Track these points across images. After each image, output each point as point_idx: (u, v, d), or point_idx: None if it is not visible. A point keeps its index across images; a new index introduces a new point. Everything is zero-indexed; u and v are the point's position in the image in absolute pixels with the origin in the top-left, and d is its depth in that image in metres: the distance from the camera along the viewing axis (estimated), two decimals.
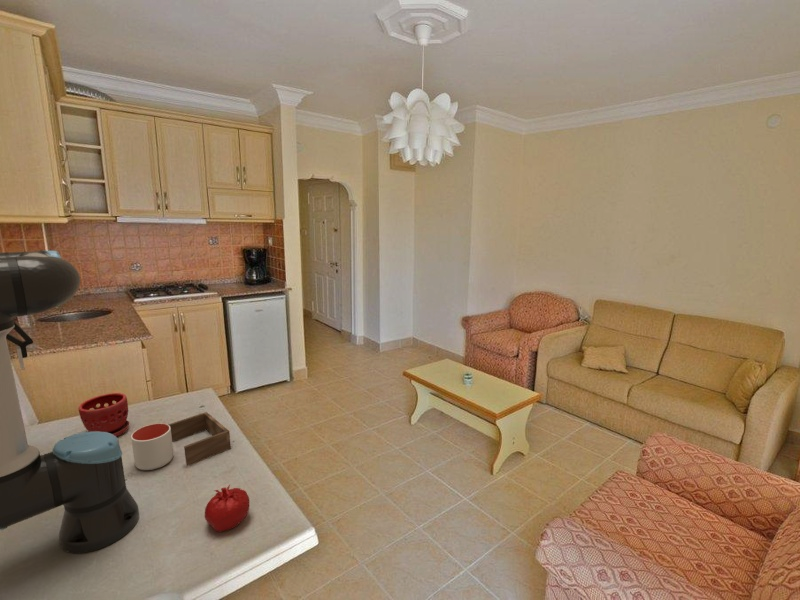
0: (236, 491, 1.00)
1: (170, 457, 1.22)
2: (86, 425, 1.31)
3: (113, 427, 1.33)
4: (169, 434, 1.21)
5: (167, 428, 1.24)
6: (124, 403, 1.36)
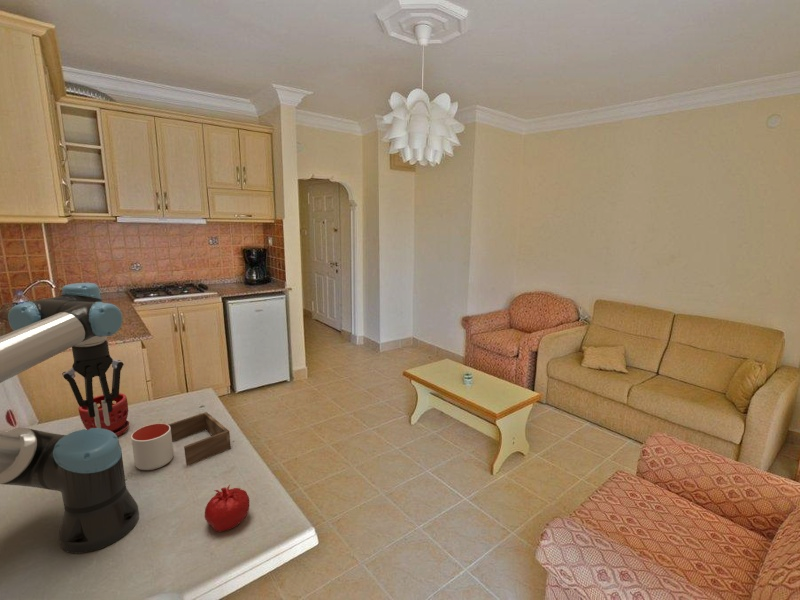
0: (236, 491, 1.00)
1: (170, 457, 1.22)
2: (86, 425, 1.31)
3: (113, 427, 1.33)
4: (169, 434, 1.21)
5: (167, 428, 1.24)
6: (124, 403, 1.36)
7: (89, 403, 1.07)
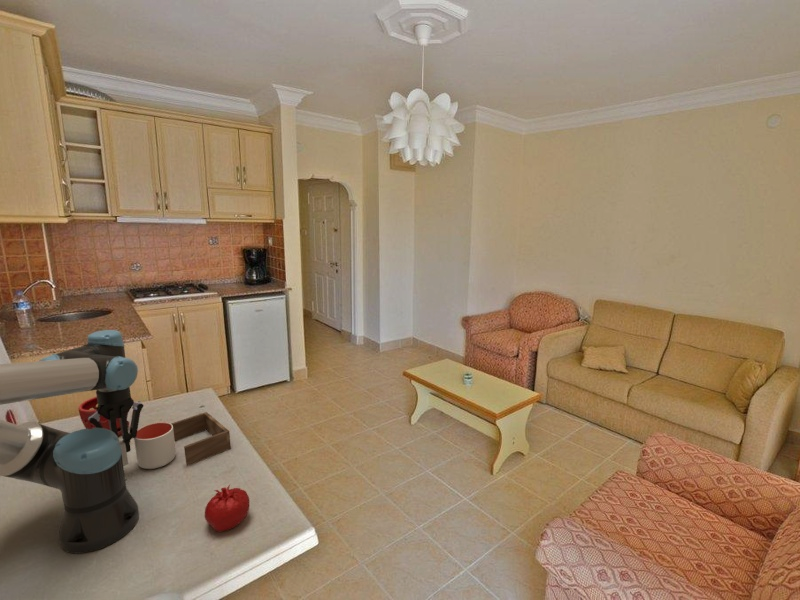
0: (236, 491, 1.00)
1: (172, 456, 1.22)
2: (86, 425, 1.31)
3: None
4: (171, 433, 1.21)
5: (170, 427, 1.25)
6: None
7: None
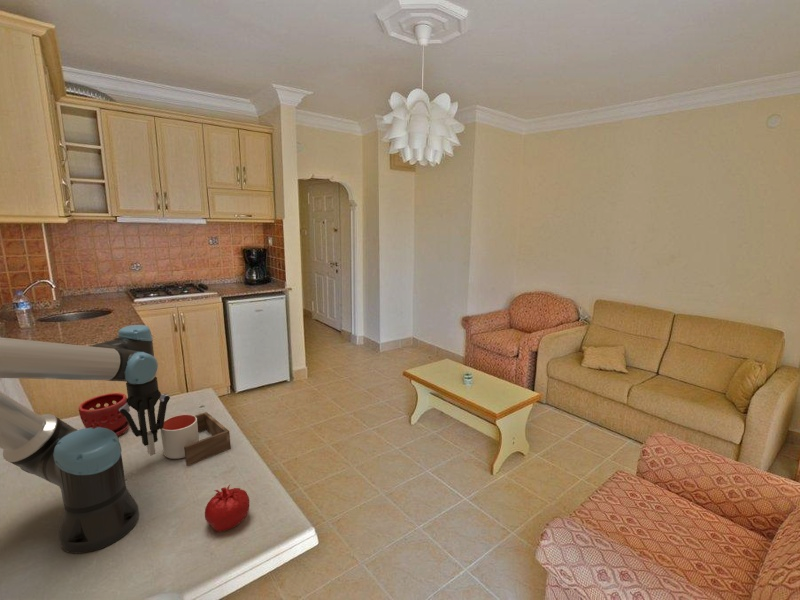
0: (236, 491, 1.00)
1: None
2: (86, 425, 1.31)
3: (113, 427, 1.33)
4: (196, 424, 1.26)
5: (193, 419, 1.30)
6: (124, 403, 1.36)
7: (143, 433, 1.18)
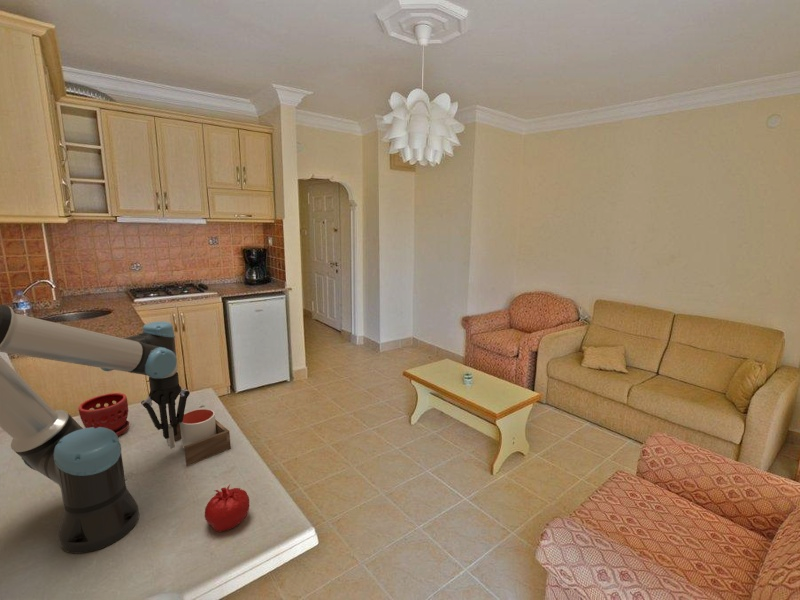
0: (236, 491, 1.00)
1: None
2: (86, 425, 1.31)
3: (113, 427, 1.33)
4: (213, 419, 1.30)
5: (211, 413, 1.33)
6: (124, 403, 1.36)
7: (165, 426, 1.22)
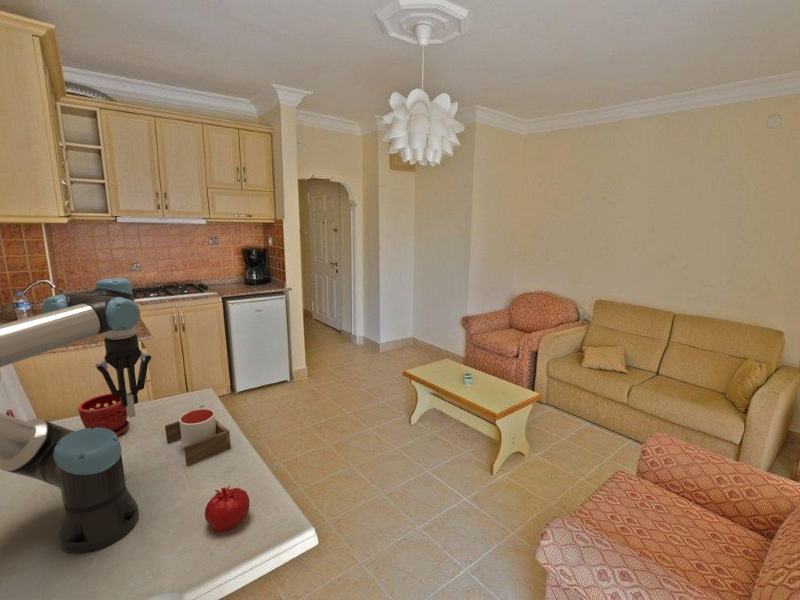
0: (236, 491, 1.00)
1: None
2: (86, 425, 1.31)
3: (113, 427, 1.33)
4: (213, 419, 1.30)
5: (211, 413, 1.33)
6: None
7: (122, 393, 1.12)
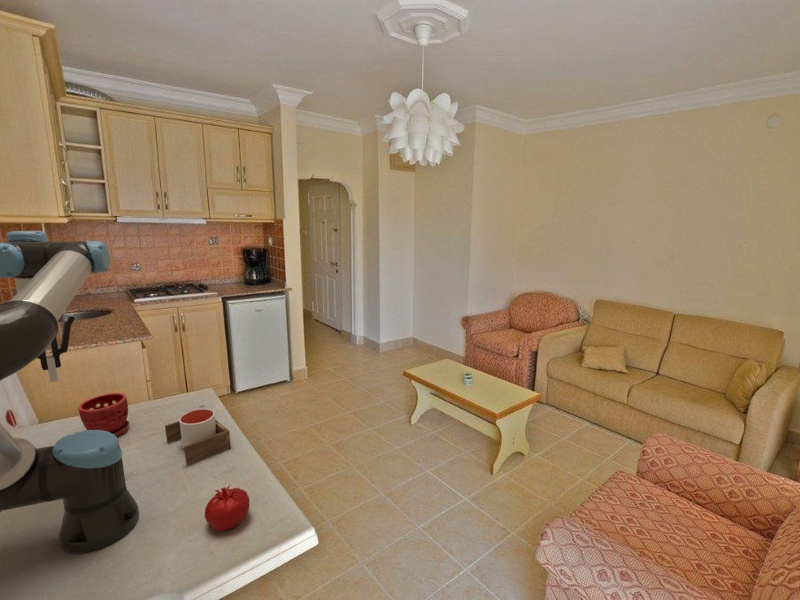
0: (236, 491, 1.00)
1: None
2: (86, 425, 1.31)
3: (113, 427, 1.33)
4: (213, 419, 1.30)
5: (211, 413, 1.33)
6: (124, 403, 1.36)
7: (41, 355, 1.05)
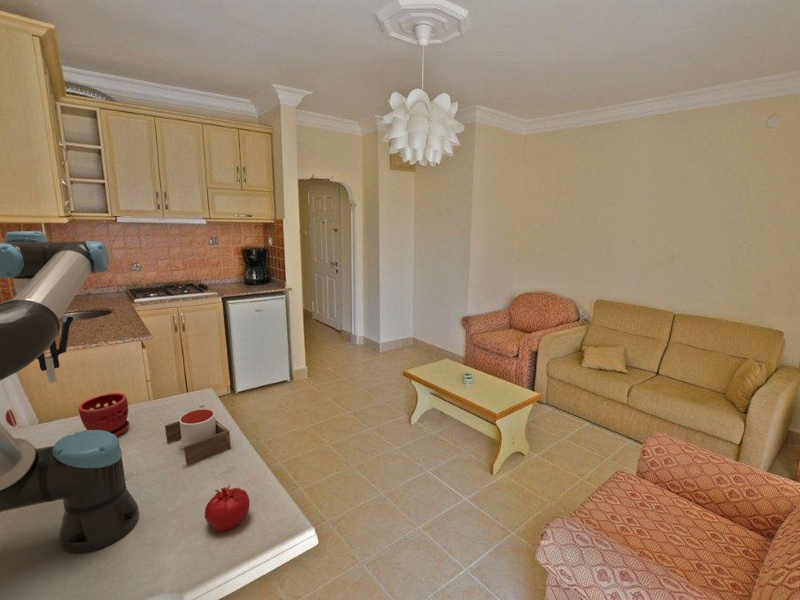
0: (236, 491, 1.00)
1: None
2: (86, 425, 1.31)
3: (113, 427, 1.33)
4: (213, 419, 1.30)
5: (211, 413, 1.33)
6: (124, 403, 1.36)
7: (40, 356, 1.04)
